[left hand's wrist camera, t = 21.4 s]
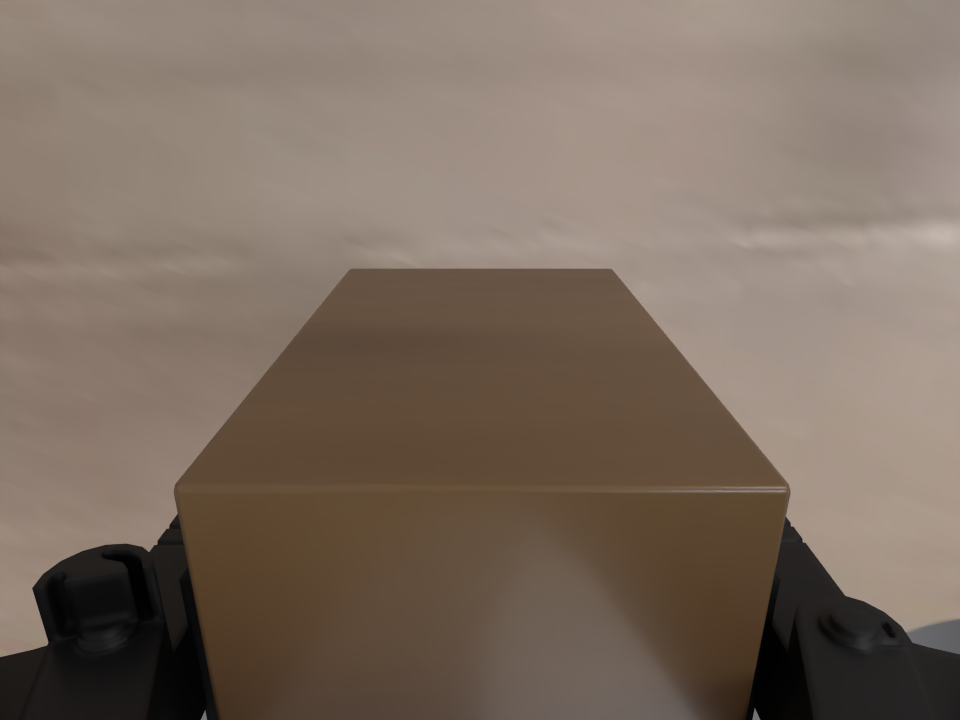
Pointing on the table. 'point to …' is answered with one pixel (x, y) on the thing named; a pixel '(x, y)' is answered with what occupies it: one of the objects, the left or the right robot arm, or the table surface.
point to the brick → (481, 513)
